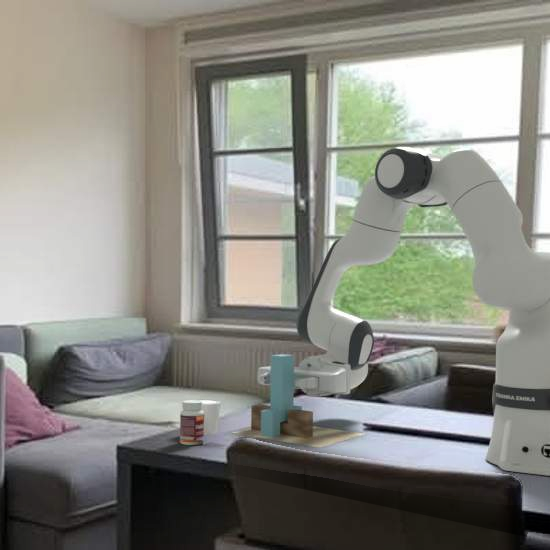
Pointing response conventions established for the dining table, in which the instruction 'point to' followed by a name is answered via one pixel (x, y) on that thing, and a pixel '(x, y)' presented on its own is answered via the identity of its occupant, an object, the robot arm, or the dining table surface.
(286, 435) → the jig board
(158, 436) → the dining table surface
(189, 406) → the pill bottle
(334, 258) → the robot arm
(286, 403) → the angled bracket
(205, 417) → the white cup
